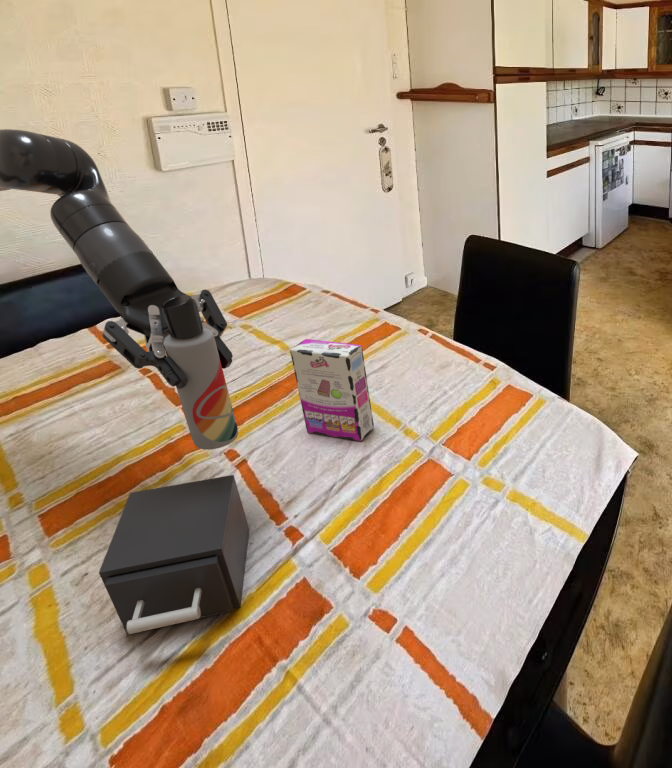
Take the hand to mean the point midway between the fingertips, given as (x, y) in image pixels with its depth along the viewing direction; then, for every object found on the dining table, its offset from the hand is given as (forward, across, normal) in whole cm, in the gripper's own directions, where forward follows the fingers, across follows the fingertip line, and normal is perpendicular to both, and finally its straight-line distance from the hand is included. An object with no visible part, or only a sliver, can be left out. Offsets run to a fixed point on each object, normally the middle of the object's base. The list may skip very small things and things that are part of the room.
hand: (206, 374), depth 78 cm
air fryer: (+19, +10, -15) cm, 26 cm away
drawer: (+20, +13, -12) cm, 27 cm away
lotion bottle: (+6, 0, -9) cm, 11 cm away
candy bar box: (+13, -24, -21) cm, 35 cm away
